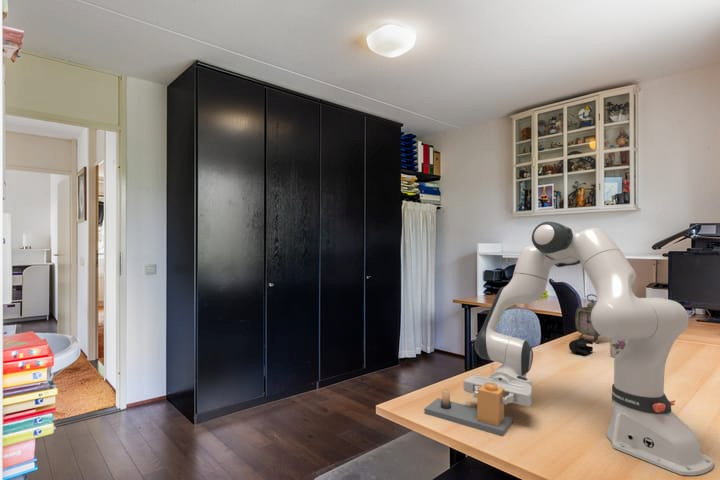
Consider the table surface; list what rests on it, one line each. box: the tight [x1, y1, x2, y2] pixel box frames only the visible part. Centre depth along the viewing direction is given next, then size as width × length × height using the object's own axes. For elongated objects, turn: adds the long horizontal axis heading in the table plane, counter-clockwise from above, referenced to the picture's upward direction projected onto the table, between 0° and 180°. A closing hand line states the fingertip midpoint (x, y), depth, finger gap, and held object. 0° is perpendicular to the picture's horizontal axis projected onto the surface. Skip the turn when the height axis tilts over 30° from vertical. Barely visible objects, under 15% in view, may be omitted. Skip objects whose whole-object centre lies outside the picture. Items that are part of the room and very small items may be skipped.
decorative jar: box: [609, 338, 628, 359], centre depth 180 cm, size 12×12×18 cm
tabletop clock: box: [574, 293, 602, 344], centre depth 212 cm, size 14×9×25 cm, turn 17°
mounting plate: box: [423, 389, 513, 437], centre depth 120 cm, size 24×10×6 cm, turn 54°
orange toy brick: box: [476, 383, 505, 426], centre depth 116 cm, size 6×6×10 cm
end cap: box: [568, 336, 594, 357], centre depth 189 cm, size 10×7×7 cm
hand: (489, 398), depth 115 cm, fingers open, 6 cm apart
